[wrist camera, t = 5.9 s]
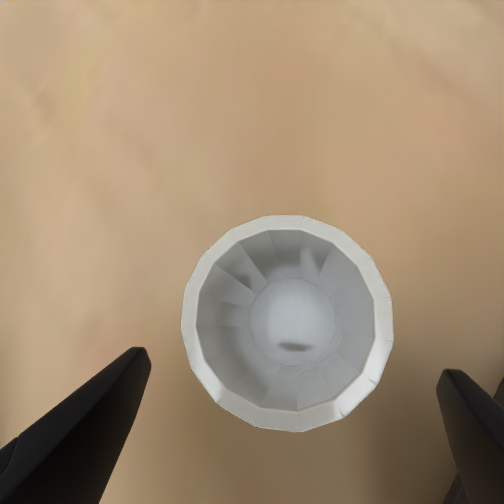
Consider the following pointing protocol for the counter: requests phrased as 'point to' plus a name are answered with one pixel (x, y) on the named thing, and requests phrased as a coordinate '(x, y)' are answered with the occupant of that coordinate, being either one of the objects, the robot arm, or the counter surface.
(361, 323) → the white cup
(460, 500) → the dark grey open box
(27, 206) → the counter surface
